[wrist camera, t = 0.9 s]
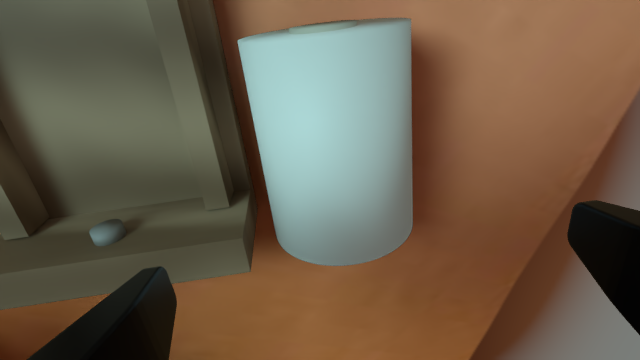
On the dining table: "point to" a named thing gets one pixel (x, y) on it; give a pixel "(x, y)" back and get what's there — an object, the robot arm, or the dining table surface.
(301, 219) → the cylinder
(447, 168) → the dining table surface
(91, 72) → the cradle
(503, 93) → the dining table surface
